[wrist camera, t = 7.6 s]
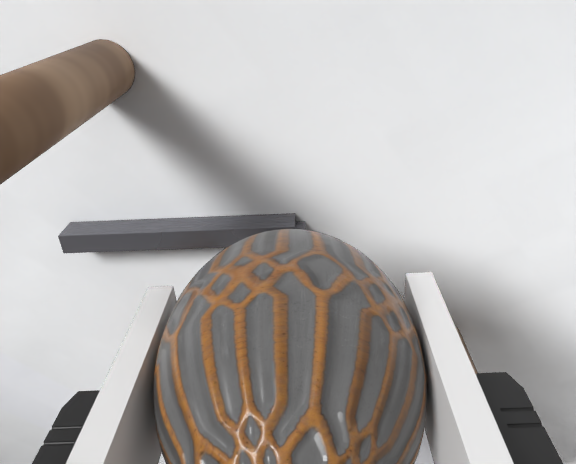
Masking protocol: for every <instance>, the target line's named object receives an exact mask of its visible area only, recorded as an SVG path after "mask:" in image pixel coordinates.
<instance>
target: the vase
mask: <svg viewBox="0 0 576 464" xmlns="http://www.w3.org/2000/svg"><path fill="white" fill-rule="evenodd" d="M153 399H154V415H155V423H156V431H157V435H158V440H159V444H160V448H161V451H162V454H163V457H164V459H165V462H166V464H414V463H415V460H416V458H417V455H418V452H419V449H420V445H421V441H422V437H423V432H424V426H425V419H426V408H427V375H426V366H425V359H424V354H423V350H422V347H421V343H420V339H419V336H418V333H417V330H416V328H415V325H414V322H413V320H412V317H411V315H410V313H409V311H408V309H407V307H406V305H405V303H404V301H403V299H402V297H401V295H400V293H399V292H398V290H397V289H396V288H395V286H394V285H393V284H392V282H391V281H390V280H389V278H388V277H387V276H386V275H385V274H384V272H383V271H382V270H381V269H380V268H379V267H378V266H377V265H376V264H374V263H373V262H372V261H371V260H370V259H369V258H368V257H367V256H365V255H364V254H363V253H361V252H360V251H359V250H357V249H355V248H354V247H352V246H350V245H349V244H347V243H345V242H343V241H341V240H339V239H337V238H334V237H332V236H329V235H326V234H323V233H319V232H315V231H310V230H302V229H280V230H272V231H266V232H262V233H258V234H255V235H252V236H249V237H247V238H244V239H242V240H240V241H238V242H236V243H234V244H232V245H230V246H229V247H227V248H225V249H224V250H222V251H221V252H220V253H218V254H217V255H216V256H214V257H213V258H212V259H211V260H210V261H209V262H208V263H206V264H205V265H204V266H203V267H202V268H201V269H200V270H199V271H198V272H197V274H196V275H195V276H194V277H193V278H192V280H191V281H190V282H189V283H188V285H187V286H186V287H185V289H184V290H183V292H182V293H181V295H180V297H179V299H178V301H177V302H176V304H175V306H174V308H173V310H172V312H171V315H170V317H169V319H168V322H167V324H166V327H165V329H164V332H163V335H162V338H161V342H160V345H159V348H158V353H157V357H156V364H155V371H154V388H153Z"/></svg>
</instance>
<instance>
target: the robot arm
mask: <svg viewBox="0 0 576 464" xmlns="http://www.w3.org/2000/svg"><path fill="white" fill-rule="evenodd" d="M176 302H177V300H176V296H175V292H174V287H173V286H160V287H148V289H147V291H146V293H145V295H144V297H143V300H142V302H141V304H140V306H139V308H138V310H137V312H136V315H135V317H134V319H133V321H132V323H131V325H130V327H129V329H128V332H127V334H126V336H125V338H124V340H123V342H122V344H121V347H120V349H119V351H118V353H117V355H116V357H115V359H114V362H113V364H112V366H111V368H110V370H109V372H108V374H107V376H106V379H105V381H104V383H103V385H102V387H101V389H100V391H78V392H77V393H76V394H75V395H74V396H73V397H72V398H71V399H70V400H69V401H68V402H67V403H66V404H65V405H64V406H63V407H62V409H61V411H60V412H59V414H58V416H57V418H56V420H55V422H54V424H53V425H52V430H50V431H49V433H48V435H47V437H46V439H45V440H44V445H43V446H41V448H40V450H39V452H38V453H37V455H36V457H35V459H34V461H33V463H32V464H158V463H159V459H160V456H161V452H162V451H161V448H160V444H159V440H158V435H157V431H156V423H155V415H154V399H153V388H154V371H155V364H156V357H157V353H158V348H159V345H160V342H161V338H162V335H163V332H164V329H165V327H166V324H167V322H168V319H169V317H170V315H171V312H172V310H173V308H174V306H175V304H176ZM404 303H405V305H406V307H407V309H408V311H409V313H410V315H411V317H412V320H413V322H414V325H415V328H416V330H417V333H418V336H419V339H420V343H421V347H422V350H423V354H424V359H425V366H426V375H427V408H426V419H425V426H424V427H425V431H426V435H427V438H428V442H429V446H430V450H431V453H432V457H433V461H434V464H563V463H562V461H561V459H560V457H559V455H558V453H557V451H556V449H555V447H554V445H553V444H552V442H551V440H550V438H549V436H548V434H547V432H546V430H545V428H544V427H542V424H541V421H540V419H539V417H538V415H537V413H536V411H534V409H533V406H532V404H531V402H530V400H529V398H528V396H527V394H526V392H525V390H524V388H523V387H522V386H520V385H519V384H518V383H517V382H516V381H515V380H514V379H513V378H512V377H511V376H510V375H508V374H507V373H506V372H501V373H477V374H475V372H474V369H473V367H472V365H471V362H470V360H469V358H468V355H467V353H466V351H465V348H464V346H463V344H462V341H461V339H460V337H459V334H458V332H457V330H456V327H455V325H454V323H453V320H452V318H451V316H450V313H449V311H448V309H447V306H446V304H445V302H444V299H443V297H442V295H441V292H440V290H439V288H438V285H437V283H436V280H435V278H434V276H433V273H432V272H421V273H405V297H404Z"/></svg>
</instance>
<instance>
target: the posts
mask: <svg viewBox="0 0 576 464" xmlns="http://www.w3.org/2000/svg"><path fill="white" fill-rule="evenodd" d="M134 76H135V71H134V65H133V62H132V60H131V58H130V56H129V55H128V53H127V52H126V51H125V50H124V49H123V48H122V47H121V46H120V45H118V44H116V43H114V42H112V41H109V40H102V39H100V40H95V41H92V42H89V43H86V44H84V45H81V46H78V47H75V48H73V49H70V50H67V51H65V52H62V53H59V54H56V55H54V56H51V57H48V58H46V59H43V60H40V61H38V62H35V63H32V64H29V65H27V66H24V67H21V68H19V69H16V70H13V71H11V72H8V73H5V74H2V75H0V184H2V183H3V182H4V181H6V180H7V179H8V178H10V177H11V176H13V175H14V174H15V173H17V172H18V171H19V170H21V169H22V168H23V167H25V166H26V165H28V164H29V163H30V162H32V161H33V160H34V159H36V158H37V157H38V156H40V155H41V154H43V153H44V152H45V151H47V150H48V149H49V148H51V147H52V146H53V145H55V144H56V143H58V142H59V141H60V140H62V139H63V138H64V137H66V136H67V135H68V134H70V133H71V132H73V131H74V130H75V129H77V128H78V127H79V126H81V125H82V124H83V123H85V122H86V121H88V120H89V119H90V118H92V117H93V116H94V115H96V114H97V113H98V112H100V111H101V110H103V109H104V108H105V107H107V106H108V105H109V104H111V103H112V102H113V101H115V100H116V99H118V98H119V97H120V96H122V95H123V94H124V93H126V92H127V91H128V90H129V89H130V87H131V86H132V84H133V81H134ZM455 327H456V326H455ZM456 330H457V332H458V334H459V337H460V339H461V341H462V344H463V346H464V348H465V351H466V353H467V355H468V358H469V360H470V362H471V365H472V367H473V369H474V372H475V374H477V370H476V368H475V366H474V363H473V361H472V359H471V356H470V354H469V352H468V349H467V347H466V345H465V343H464V340H463V338H462V336H461V333H460V331H459V329H458V328H457V327H456Z"/></svg>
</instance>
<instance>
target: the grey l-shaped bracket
mask: <svg viewBox="0 0 576 464" xmlns="http://www.w3.org/2000/svg"><path fill="white" fill-rule="evenodd" d="M280 229H302V230H306V229H305V222H296V220H295V213H293V214H268V215H243V216H217V217H192V218H167V219H141V220H116V221H91V222H70V223H69V225H68V226H67V227H66V228H65V229H64V230H63V231H62V232H61V234H60V235H59V236H58V237H59V240H60V243H61V246H62V250H63V253H82V252H110V251H137V250H165V249H192V248H219V247H229V246H230V245H232V244H234V243H236V242H238V241H240V240H242V239H244V238H247V237H249V236H252V235H255V234H258V233H262V232H266V231H272V230H280Z"/></svg>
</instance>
